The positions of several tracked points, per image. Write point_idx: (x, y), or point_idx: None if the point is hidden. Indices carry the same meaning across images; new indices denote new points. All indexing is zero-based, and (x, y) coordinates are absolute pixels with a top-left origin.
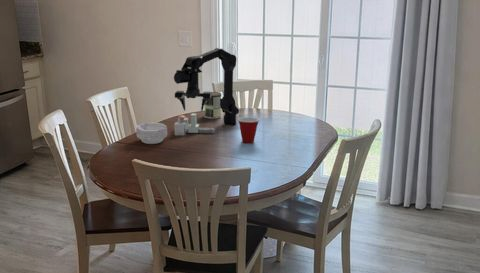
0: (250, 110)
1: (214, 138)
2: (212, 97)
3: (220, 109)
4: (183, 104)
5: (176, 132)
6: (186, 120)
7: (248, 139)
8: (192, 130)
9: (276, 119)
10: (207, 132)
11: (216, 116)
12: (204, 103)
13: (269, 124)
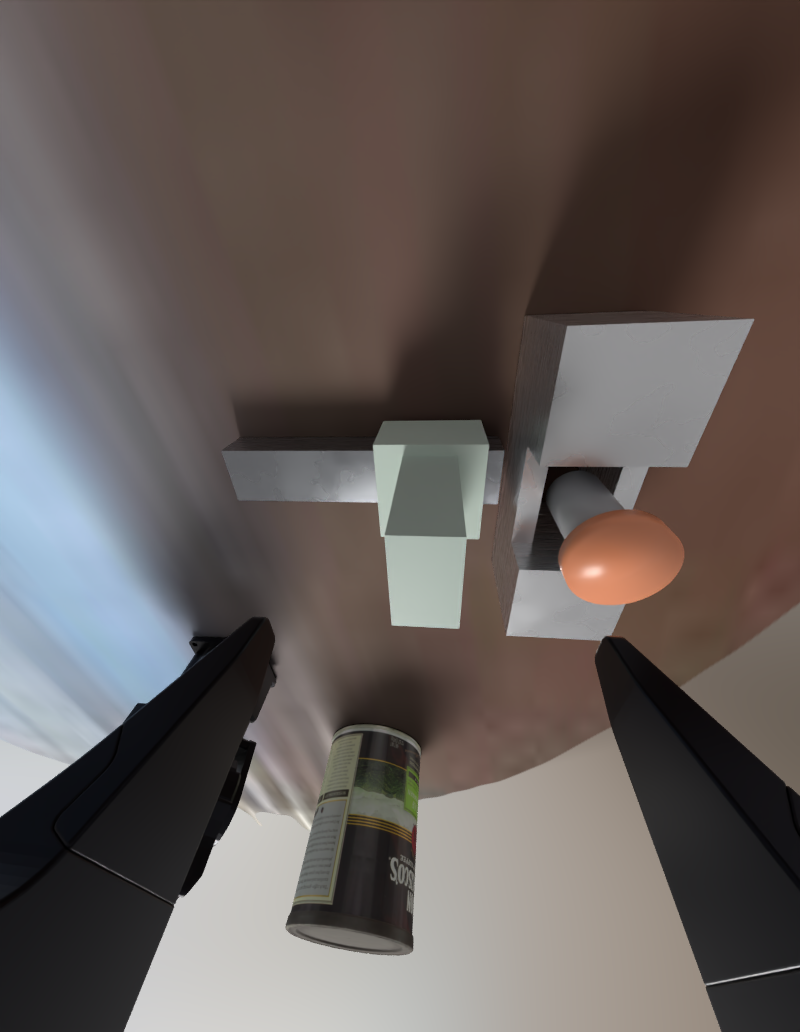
0: (242, 792)
1: (150, 243)
2: (339, 904)
3: (321, 788)
4: (747, 796)
5: (637, 314)
6: (524, 564)
7: None
8: (437, 428)
9: (64, 709)
10: (293, 439)
11: (346, 737)
12: (49, 791)
13: (31, 650)
